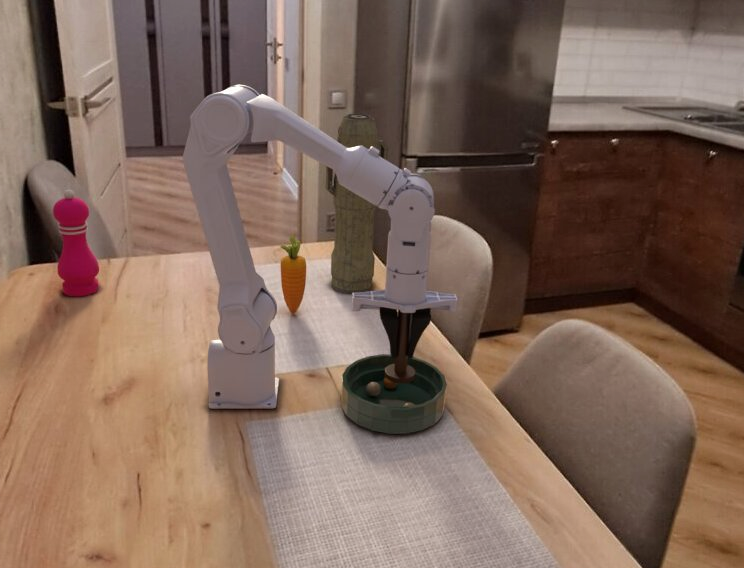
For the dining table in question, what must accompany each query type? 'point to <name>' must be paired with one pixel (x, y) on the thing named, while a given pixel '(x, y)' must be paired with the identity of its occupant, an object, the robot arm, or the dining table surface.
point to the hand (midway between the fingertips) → (401, 354)
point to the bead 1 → (373, 389)
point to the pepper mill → (75, 247)
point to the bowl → (393, 396)
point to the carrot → (293, 276)
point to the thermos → (353, 214)
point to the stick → (401, 353)
